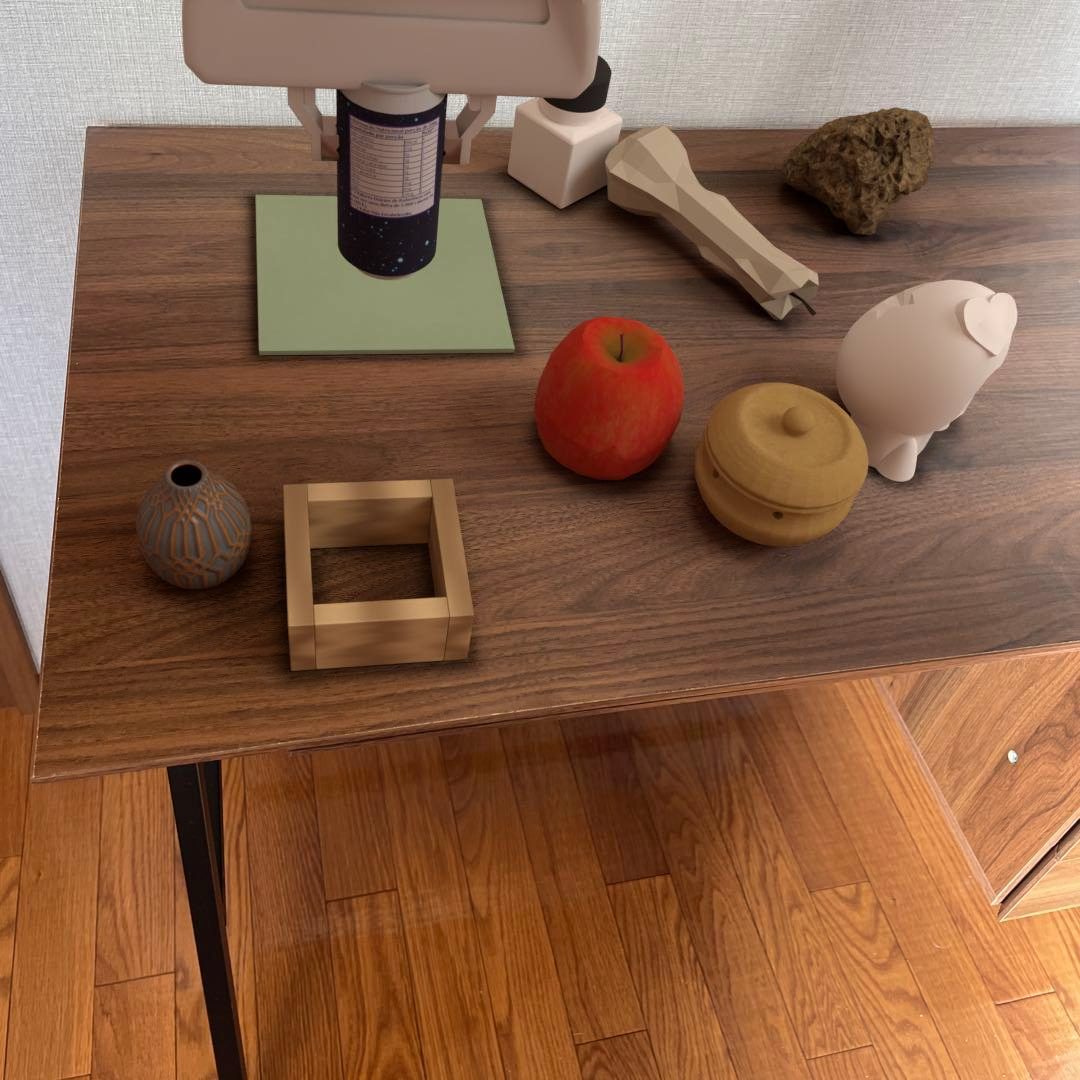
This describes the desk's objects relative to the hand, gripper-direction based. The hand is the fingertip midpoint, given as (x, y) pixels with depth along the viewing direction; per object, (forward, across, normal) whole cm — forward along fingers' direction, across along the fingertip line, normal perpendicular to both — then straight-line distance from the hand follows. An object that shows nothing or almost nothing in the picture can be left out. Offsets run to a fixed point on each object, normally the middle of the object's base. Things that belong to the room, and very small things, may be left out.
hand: (390, 157), depth 60 cm
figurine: (+26, +41, +4) cm, 48 cm away
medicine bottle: (+26, +19, +36) cm, 49 cm away
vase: (+26, -12, -8) cm, 29 cm away
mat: (+26, +2, +22) cm, 34 cm away
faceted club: (+26, +30, +24) cm, 47 cm away
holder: (+25, -1, -11) cm, 28 cm away
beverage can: (+7, 0, 0) cm, 7 cm away
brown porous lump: (+26, +48, +32) cm, 64 cm away
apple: (+26, +17, +2) cm, 31 cm away
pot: (+26, +28, -5) cm, 38 cm away
